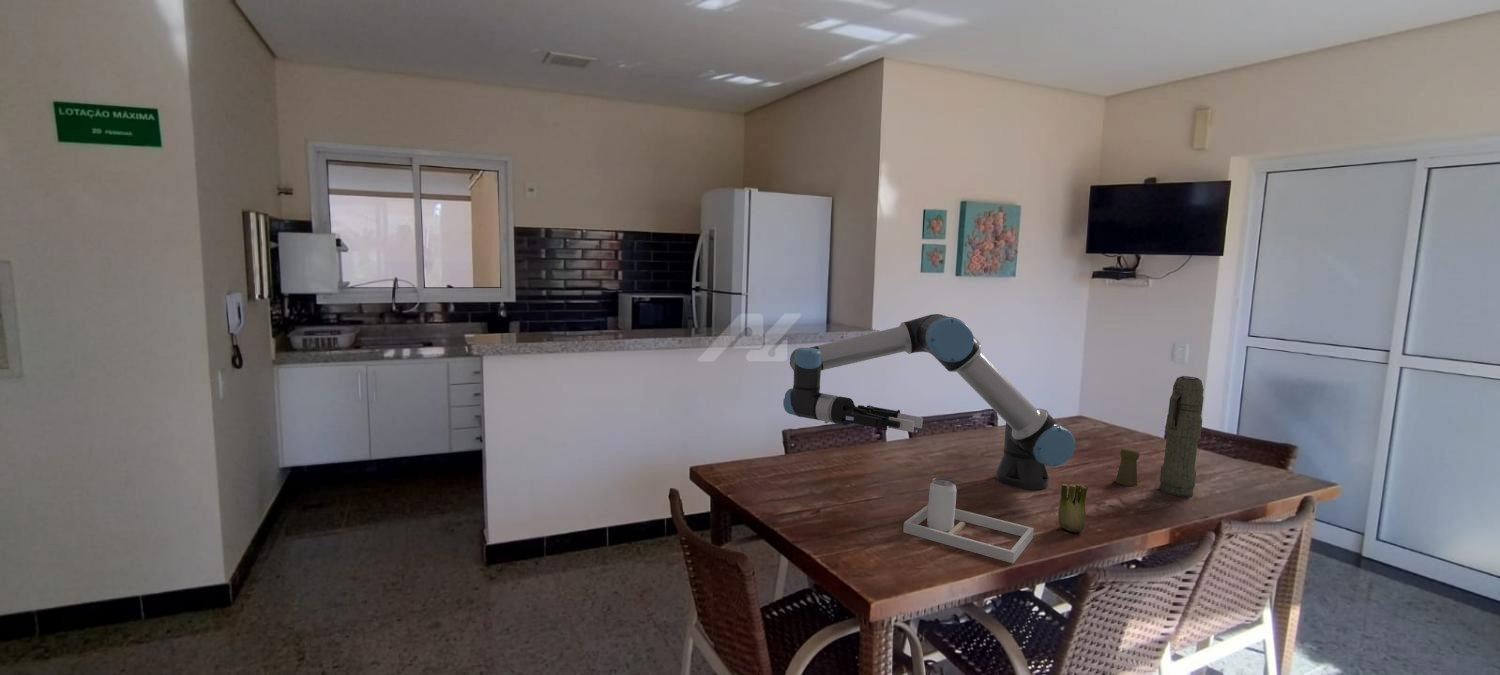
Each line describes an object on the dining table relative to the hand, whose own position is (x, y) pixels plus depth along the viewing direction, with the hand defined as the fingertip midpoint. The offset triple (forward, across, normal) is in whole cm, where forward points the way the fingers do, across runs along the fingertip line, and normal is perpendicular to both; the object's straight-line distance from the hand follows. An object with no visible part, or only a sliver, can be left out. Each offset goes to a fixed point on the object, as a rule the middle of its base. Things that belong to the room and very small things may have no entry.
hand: (917, 424), depth 170 cm
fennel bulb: (+34, -21, -25) cm, 47 cm away
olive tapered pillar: (+40, -74, -25) cm, 88 cm away
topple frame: (+15, 0, -25) cm, 29 cm away
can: (+8, 0, -25) cm, 26 cm away
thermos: (+53, -75, -25) cm, 96 cm away
